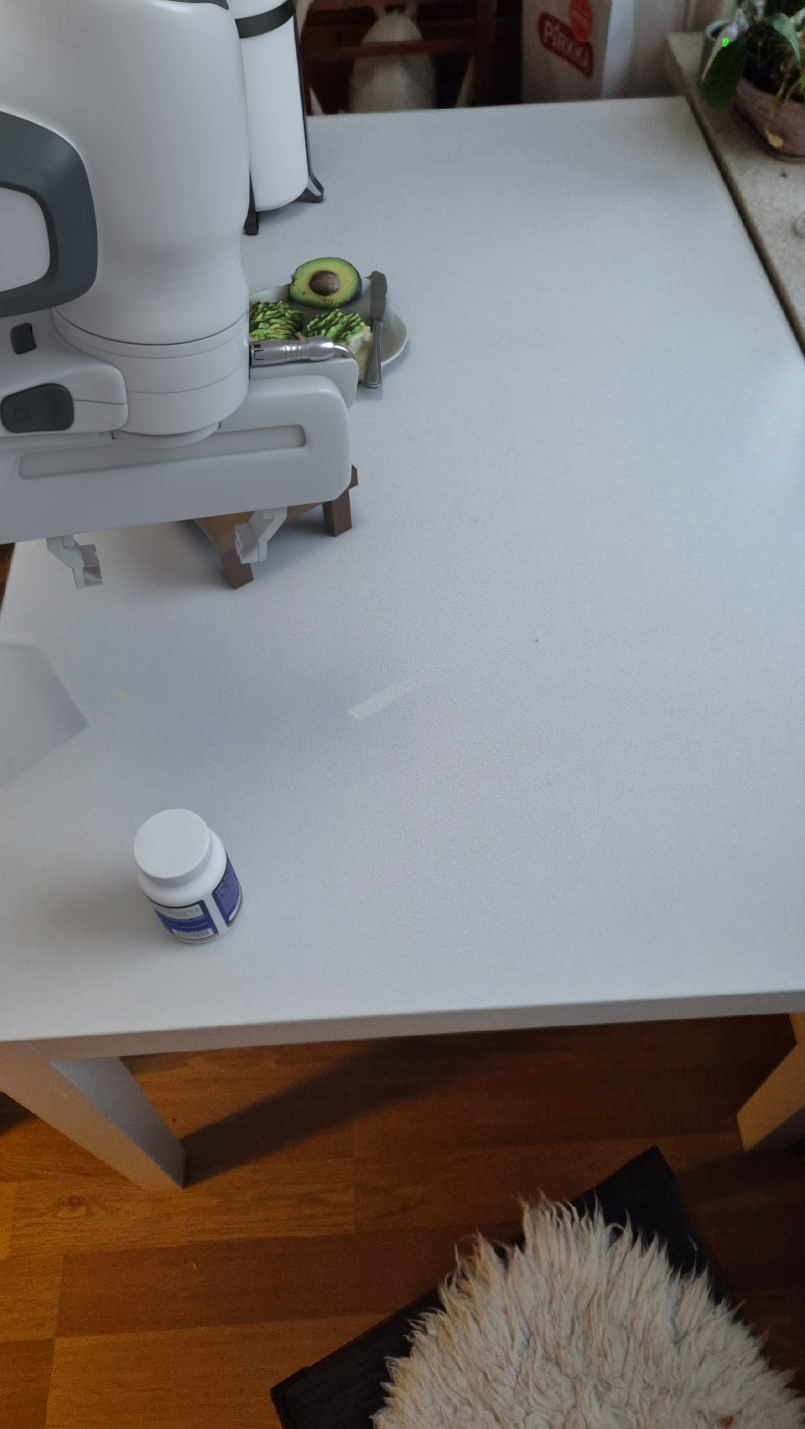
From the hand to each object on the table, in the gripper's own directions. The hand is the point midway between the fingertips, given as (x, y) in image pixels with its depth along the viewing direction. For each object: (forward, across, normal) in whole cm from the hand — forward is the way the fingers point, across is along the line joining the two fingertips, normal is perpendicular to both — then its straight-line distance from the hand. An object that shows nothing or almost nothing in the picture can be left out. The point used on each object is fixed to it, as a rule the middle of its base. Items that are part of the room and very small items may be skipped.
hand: (171, 567), depth 59 cm
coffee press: (+13, -24, -72) cm, 77 cm away
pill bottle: (+22, +1, +10) cm, 24 cm away
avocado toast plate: (+14, -24, -46) cm, 53 cm away
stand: (+18, -12, -24) cm, 32 cm away
